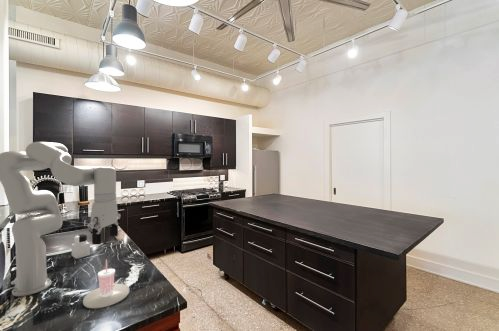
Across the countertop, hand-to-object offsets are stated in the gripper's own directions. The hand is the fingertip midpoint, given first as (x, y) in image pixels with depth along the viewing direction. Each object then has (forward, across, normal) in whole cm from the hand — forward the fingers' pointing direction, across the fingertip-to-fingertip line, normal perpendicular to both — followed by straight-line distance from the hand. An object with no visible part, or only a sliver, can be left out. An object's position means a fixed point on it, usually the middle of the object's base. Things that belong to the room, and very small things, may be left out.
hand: (105, 239), depth 95 cm
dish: (+23, 0, 0) cm, 23 cm away
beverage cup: (+22, 0, 0) cm, 22 cm away
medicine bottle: (+24, -38, -44) cm, 63 cm away
